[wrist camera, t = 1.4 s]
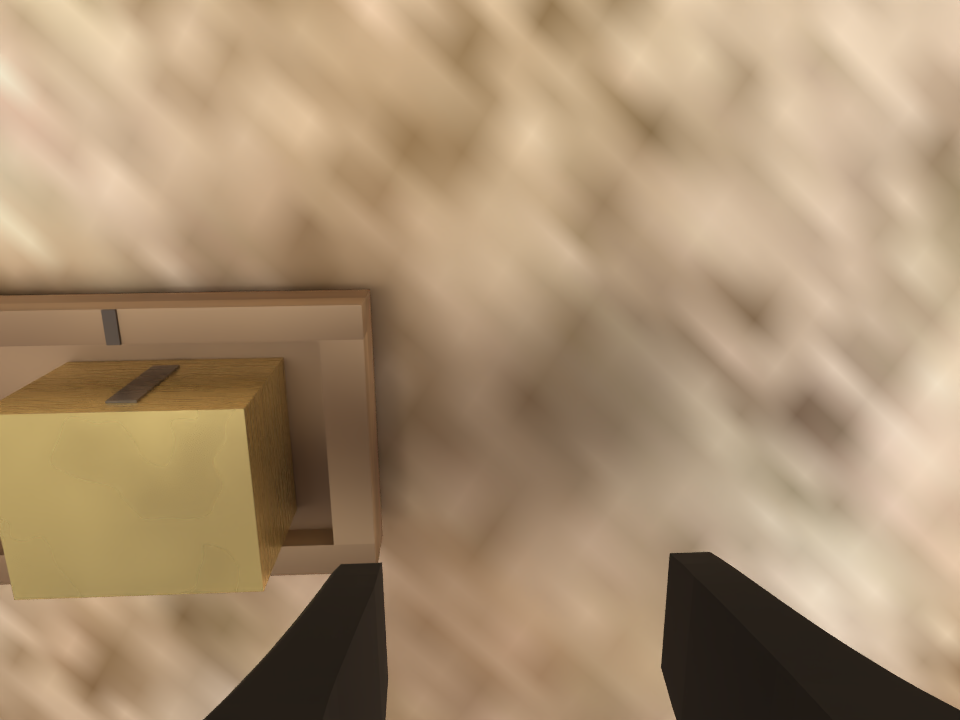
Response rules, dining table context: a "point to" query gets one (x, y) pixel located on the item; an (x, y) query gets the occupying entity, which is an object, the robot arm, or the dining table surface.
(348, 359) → the brown rectangular tray
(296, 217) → the dining table surface
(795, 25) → the dining table surface
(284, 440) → the yellow block
